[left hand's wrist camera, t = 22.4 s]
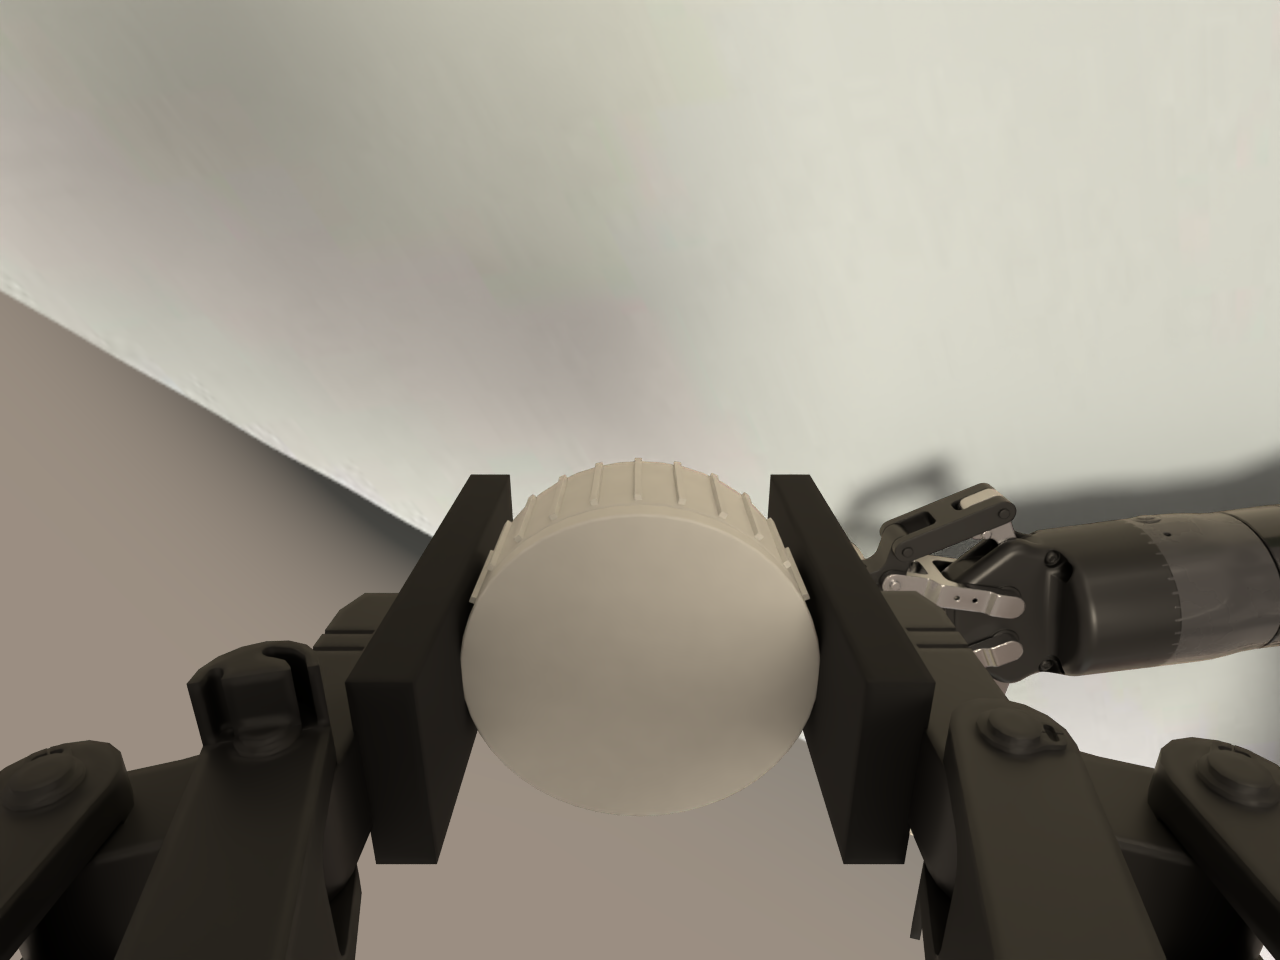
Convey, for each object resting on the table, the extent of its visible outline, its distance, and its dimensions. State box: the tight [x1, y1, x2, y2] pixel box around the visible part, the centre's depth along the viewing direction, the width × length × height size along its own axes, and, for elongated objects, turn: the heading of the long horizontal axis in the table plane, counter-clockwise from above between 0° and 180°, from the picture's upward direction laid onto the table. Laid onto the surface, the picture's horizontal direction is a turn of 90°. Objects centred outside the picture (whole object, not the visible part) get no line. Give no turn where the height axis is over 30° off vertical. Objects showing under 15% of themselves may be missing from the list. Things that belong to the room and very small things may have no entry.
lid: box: [460, 458, 820, 816], centre depth 11 cm, size 5×5×2 cm
